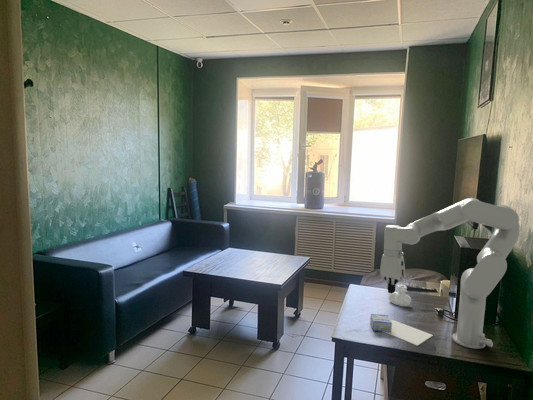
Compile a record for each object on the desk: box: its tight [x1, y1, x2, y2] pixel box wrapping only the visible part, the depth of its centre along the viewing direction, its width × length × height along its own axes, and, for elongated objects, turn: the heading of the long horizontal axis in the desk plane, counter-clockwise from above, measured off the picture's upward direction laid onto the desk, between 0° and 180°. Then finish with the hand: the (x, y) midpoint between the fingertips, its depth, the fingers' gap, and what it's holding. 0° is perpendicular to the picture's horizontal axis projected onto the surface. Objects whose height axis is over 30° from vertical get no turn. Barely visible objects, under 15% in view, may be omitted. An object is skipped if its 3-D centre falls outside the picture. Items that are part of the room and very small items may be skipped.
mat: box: [381, 319, 434, 347], centre depth 167 cm, size 20×14×1 cm
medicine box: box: [369, 313, 392, 332], centre depth 170 cm, size 8×4×9 cm
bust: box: [388, 284, 412, 307], centre depth 200 cm, size 12×8×11 cm
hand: (391, 292), depth 171 cm, fingers closed
